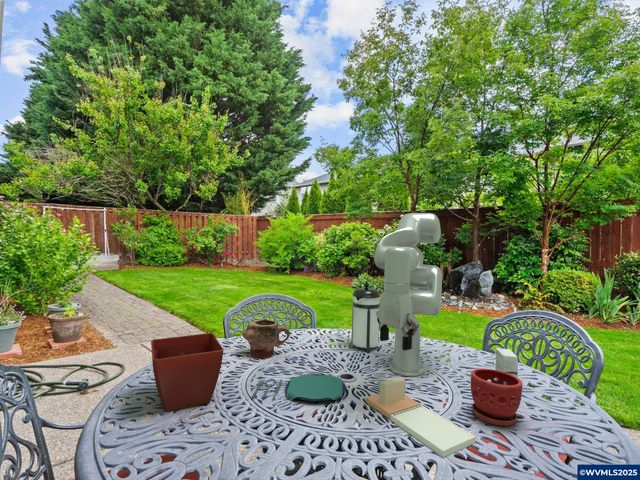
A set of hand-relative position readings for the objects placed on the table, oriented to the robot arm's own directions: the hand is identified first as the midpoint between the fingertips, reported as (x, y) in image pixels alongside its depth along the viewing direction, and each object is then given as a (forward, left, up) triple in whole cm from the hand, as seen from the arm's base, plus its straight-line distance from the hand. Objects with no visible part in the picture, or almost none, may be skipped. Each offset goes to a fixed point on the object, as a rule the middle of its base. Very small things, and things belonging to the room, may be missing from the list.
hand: (395, 344), depth 102 cm
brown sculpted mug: (-59, -18, -19) cm, 64 cm away
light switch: (0, 0, -19) cm, 19 cm away
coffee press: (-48, +27, -19) cm, 58 cm away
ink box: (+7, +46, -19) cm, 50 cm away
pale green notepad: (+14, 0, -19) cm, 24 cm away
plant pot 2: (+18, +22, -19) cm, 34 cm away
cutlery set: (-23, -20, -19) cm, 36 cm away
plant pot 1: (-34, -54, -19) cm, 67 cm away
